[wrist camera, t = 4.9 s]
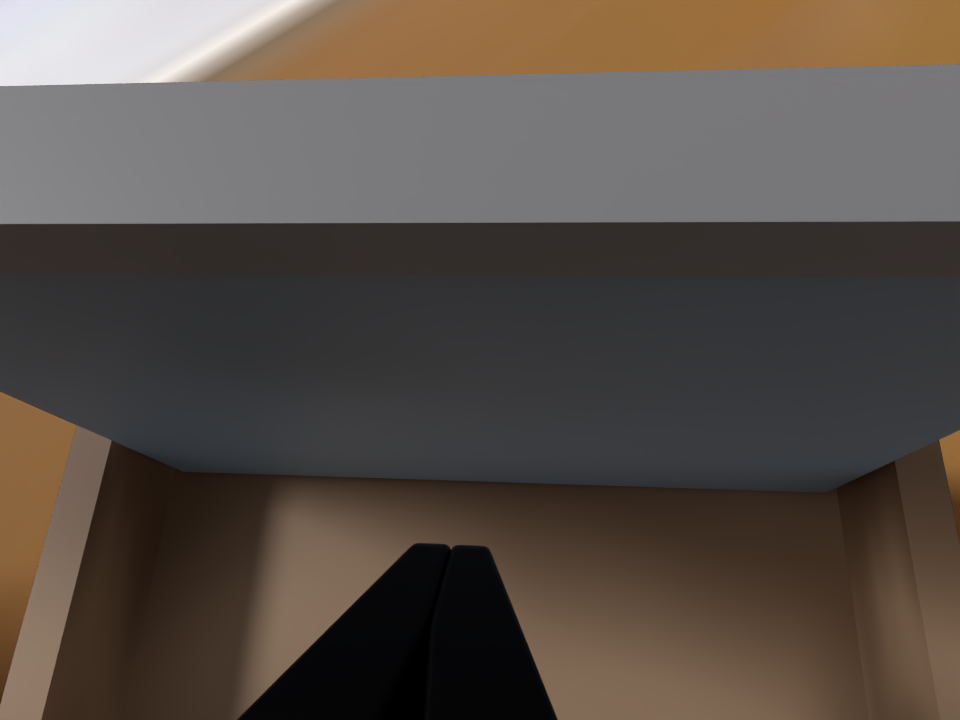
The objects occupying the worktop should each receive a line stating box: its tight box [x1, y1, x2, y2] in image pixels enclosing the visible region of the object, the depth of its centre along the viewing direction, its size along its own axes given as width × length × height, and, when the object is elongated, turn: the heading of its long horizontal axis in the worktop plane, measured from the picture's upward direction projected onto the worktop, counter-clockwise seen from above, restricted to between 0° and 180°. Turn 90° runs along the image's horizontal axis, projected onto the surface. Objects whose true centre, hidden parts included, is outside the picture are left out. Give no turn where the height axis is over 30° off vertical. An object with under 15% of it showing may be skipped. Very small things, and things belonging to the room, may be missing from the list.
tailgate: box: [0, 64, 960, 493], centre depth 10 cm, size 1×14×10 cm, turn 87°
